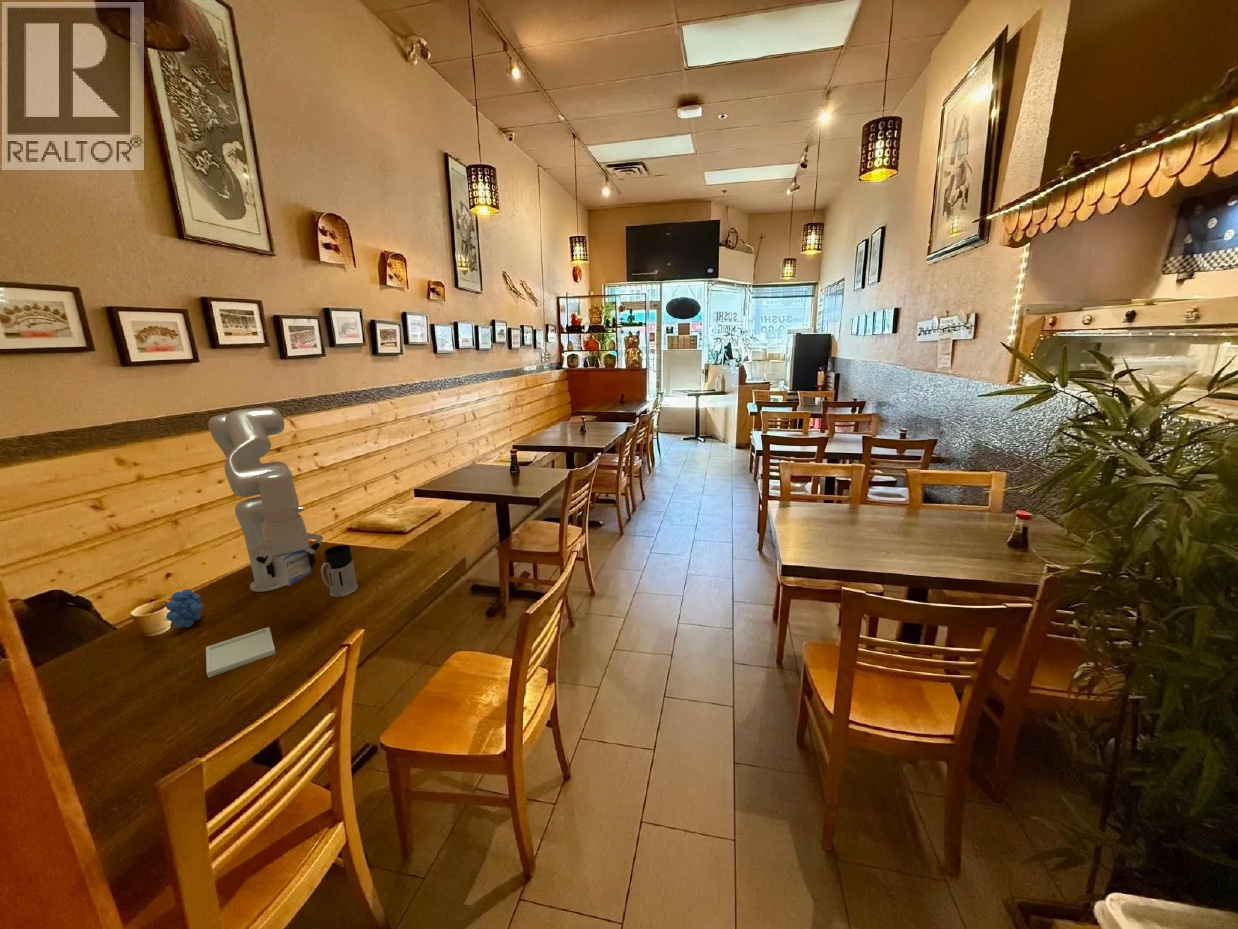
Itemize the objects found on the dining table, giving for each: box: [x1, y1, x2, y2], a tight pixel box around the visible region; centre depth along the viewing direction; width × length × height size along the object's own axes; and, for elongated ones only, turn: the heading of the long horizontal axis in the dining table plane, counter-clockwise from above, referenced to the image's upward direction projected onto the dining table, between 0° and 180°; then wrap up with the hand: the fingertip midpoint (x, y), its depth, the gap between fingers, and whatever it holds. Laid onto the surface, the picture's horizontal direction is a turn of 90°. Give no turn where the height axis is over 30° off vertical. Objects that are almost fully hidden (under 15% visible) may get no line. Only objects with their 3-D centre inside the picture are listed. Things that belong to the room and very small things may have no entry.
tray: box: [205, 626, 277, 679], centre depth 127 cm, size 14×14×2 cm
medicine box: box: [272, 550, 312, 587], centre depth 135 cm, size 8×4×9 cm, turn 168°
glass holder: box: [320, 544, 359, 598], centre depth 155 cm, size 9×14×15 cm, turn 2°
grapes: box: [165, 588, 205, 629], centre depth 138 cm, size 12×7×12 cm, turn 6°
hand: (292, 570), depth 135 cm, fingers closed on medicine box, 9 cm apart
